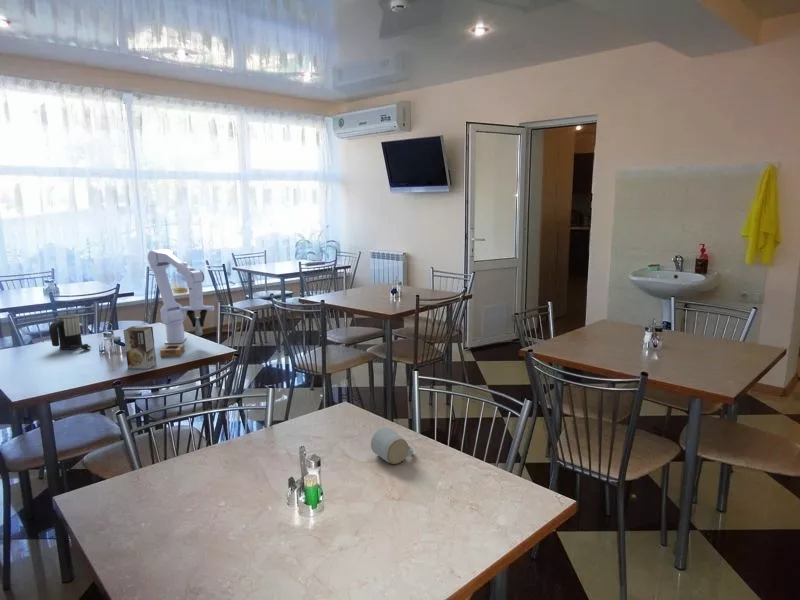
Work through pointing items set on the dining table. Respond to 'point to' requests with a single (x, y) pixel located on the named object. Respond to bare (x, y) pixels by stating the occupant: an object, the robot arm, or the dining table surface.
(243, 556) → the dining table surface
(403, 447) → the ceramic mug
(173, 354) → the bead block
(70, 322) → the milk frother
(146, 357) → the coffee box
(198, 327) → the needle peg
